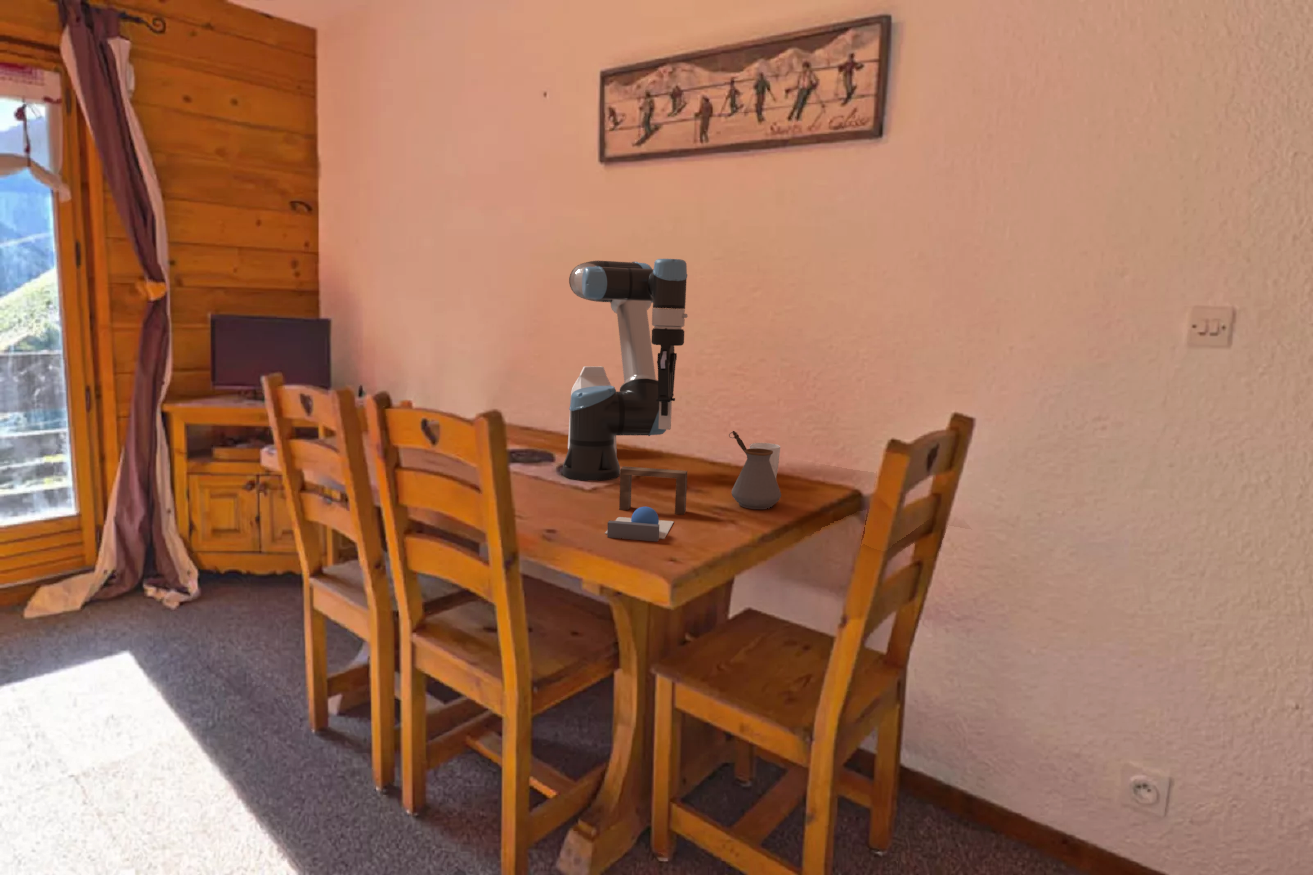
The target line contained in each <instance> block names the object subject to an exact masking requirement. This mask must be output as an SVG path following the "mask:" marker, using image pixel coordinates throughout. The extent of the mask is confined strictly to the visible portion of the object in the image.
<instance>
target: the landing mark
mask: <svg viewBox="0 0 1313 875" xmlns="http://www.w3.org/2000/svg"><path fill="white" fill-rule="evenodd" d="M631 518H632V517H625V516H624V517H623V516H618V517H617V518H616V519H615V520H614V521H623V522H631ZM674 522H675V521H672V520H663V519H661V520H660V519H659V523H658V524H659V540H660V539H662V540H665V539H666V536H668V533H669V532H670V529H671V528H672V526H673V524H674ZM604 534H605V535H607V530H606V531H605V532H604Z"/></svg>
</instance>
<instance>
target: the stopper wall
mask: <svg viewBox="0 0 1313 875" xmlns="http://www.w3.org/2000/svg"><path fill="white" fill-rule="evenodd" d="M606 528H607V530H606V531H607V534H606V537H607V538H610V539H612V538H613V539H621V538H622V540H623V539H624V540H633V541H634V540H635V541H645V542H659V540H660V539H659V524H647V523H635V522H623V521H615V520H608V522H607V527H606Z"/></svg>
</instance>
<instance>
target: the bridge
mask: <svg viewBox="0 0 1313 875" xmlns="http://www.w3.org/2000/svg"><path fill="white" fill-rule="evenodd" d="M633 476H637V477H651V478H653V477H654V478H663V479H665V478H666V479H675V497H674V498H675V499H674V500H675V501H674V514H675V515H682V516H683V515H684V516H685V514H686V512H687V510H686V509H687V490H688V489H687V488H688V470H681V469H680V470H679V469H668V468H667V469H664V468H655V467H654V468H653V467H652V468H651V467H650V468H649V467H640V466H638V467H637V466H636V467H635V466H626V465H625V466H622V467H620V476H619V500H618V501H619V510H620V511H621V510H623V511H629V509H631V507H632V506H631V505H632V480H633V478H632V477H633Z"/></svg>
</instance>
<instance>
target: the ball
mask: <svg viewBox="0 0 1313 875" xmlns="http://www.w3.org/2000/svg"><path fill="white" fill-rule="evenodd" d="M630 518H631V522H635V523H647V524H658V523H659V520H660V519H659V514H658V513H657V511H656V510H655V509H654V508H652V507H649V506H640V507H638V508H636V509H635V510H634V512H633V513H632V515H631V517H630Z"/></svg>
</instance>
